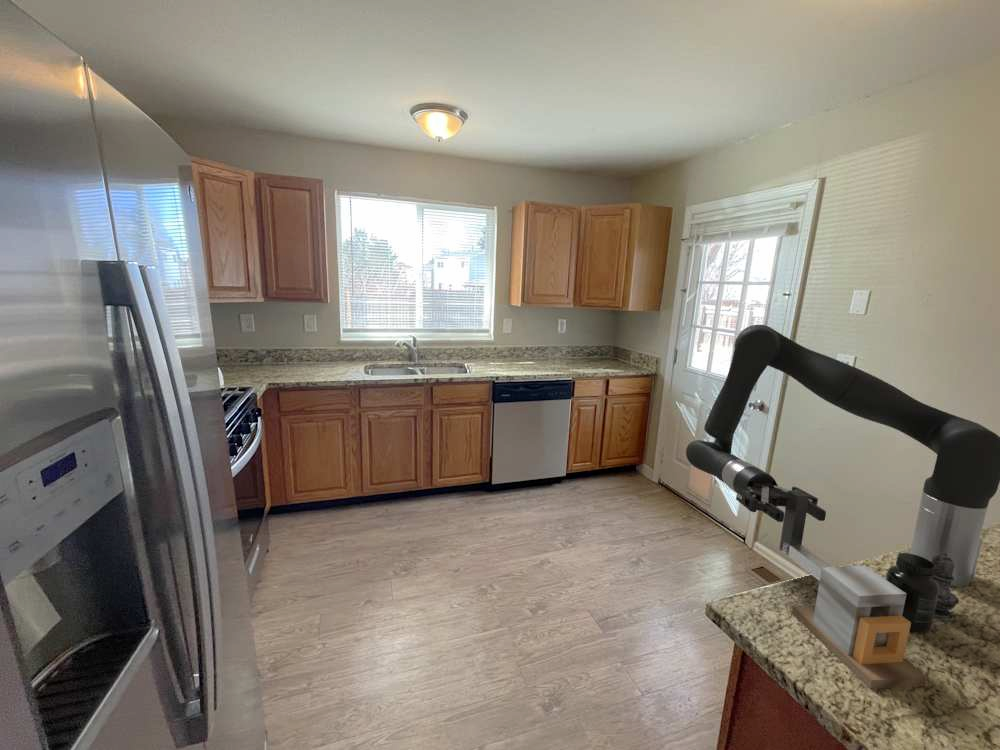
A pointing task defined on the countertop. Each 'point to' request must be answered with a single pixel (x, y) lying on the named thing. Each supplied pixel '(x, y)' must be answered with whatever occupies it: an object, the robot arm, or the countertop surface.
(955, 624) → the countertop surface
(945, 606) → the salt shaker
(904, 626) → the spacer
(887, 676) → the stand
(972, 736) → the countertop surface
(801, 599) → the countertop surface
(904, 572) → the supplement bottle
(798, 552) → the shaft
